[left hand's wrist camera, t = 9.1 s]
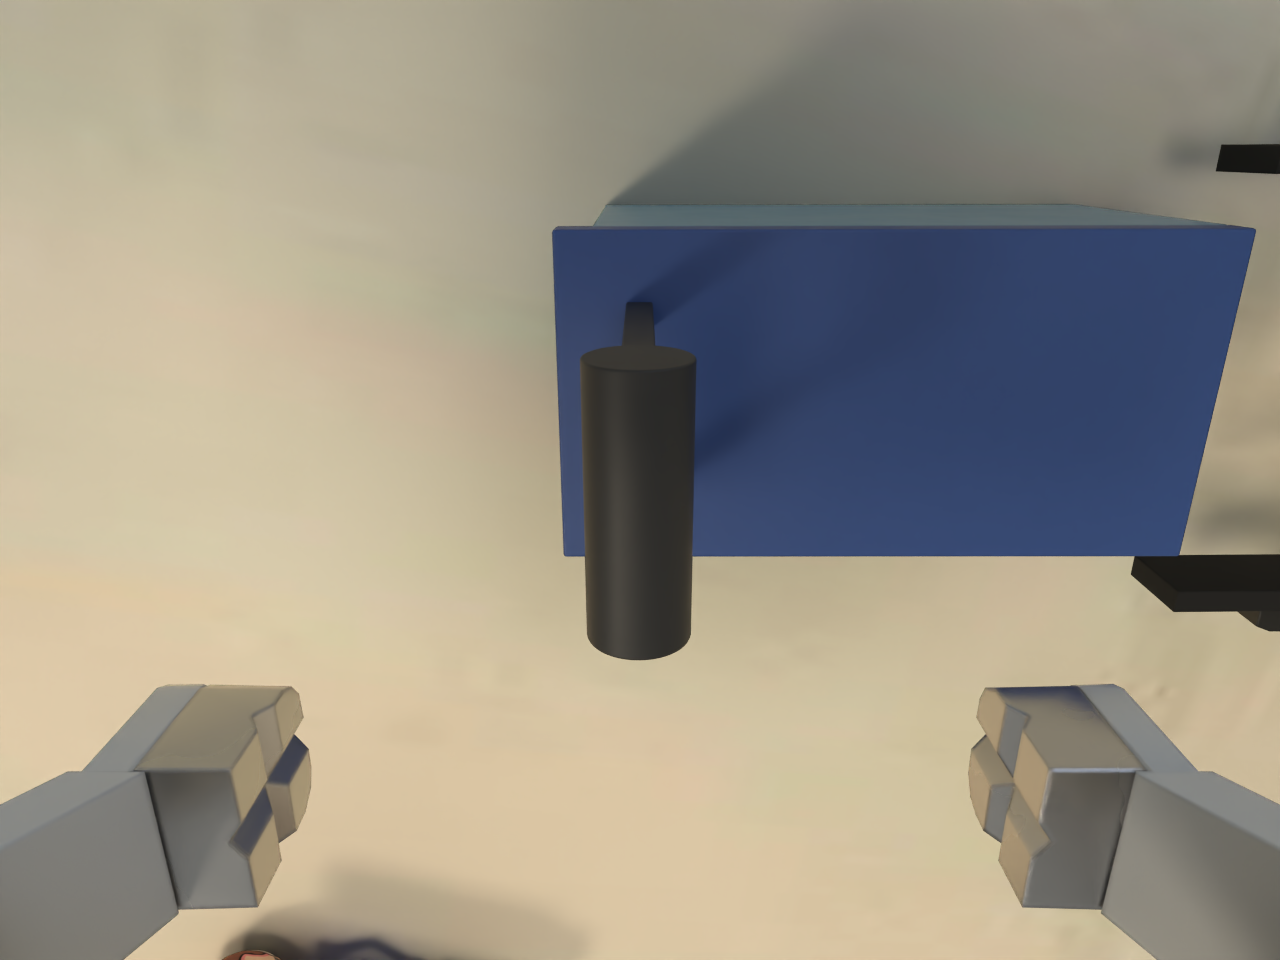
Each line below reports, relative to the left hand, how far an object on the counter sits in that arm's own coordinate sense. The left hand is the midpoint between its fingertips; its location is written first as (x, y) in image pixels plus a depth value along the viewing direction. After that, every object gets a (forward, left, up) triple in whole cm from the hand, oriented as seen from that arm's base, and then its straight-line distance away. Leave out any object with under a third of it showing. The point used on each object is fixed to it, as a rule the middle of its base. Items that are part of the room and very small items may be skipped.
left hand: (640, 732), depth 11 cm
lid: (+3, -6, -16) cm, 17 cm away
